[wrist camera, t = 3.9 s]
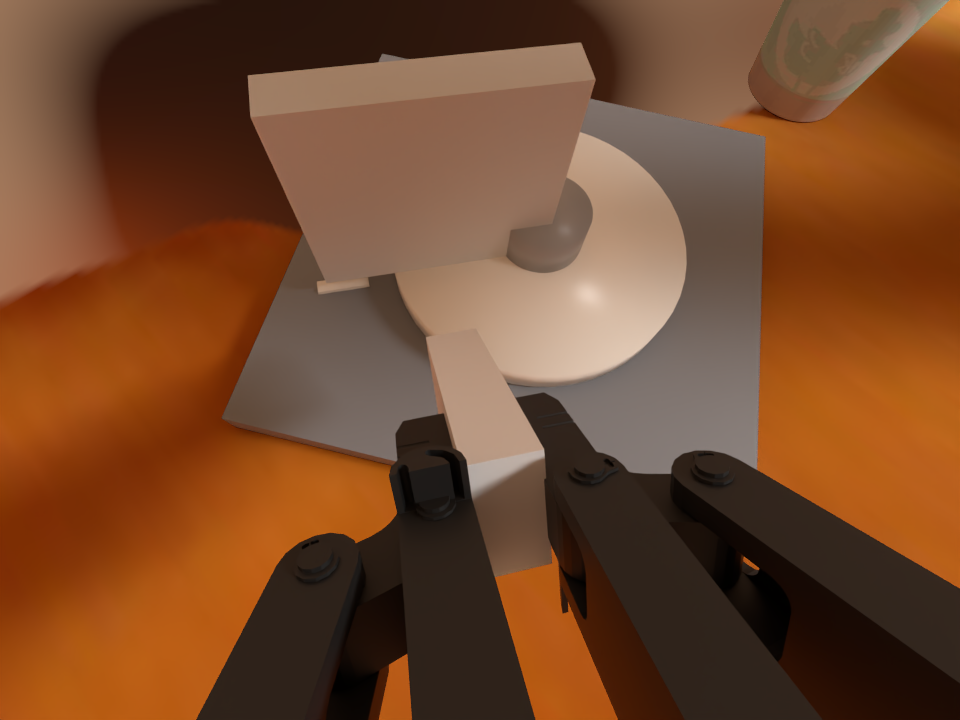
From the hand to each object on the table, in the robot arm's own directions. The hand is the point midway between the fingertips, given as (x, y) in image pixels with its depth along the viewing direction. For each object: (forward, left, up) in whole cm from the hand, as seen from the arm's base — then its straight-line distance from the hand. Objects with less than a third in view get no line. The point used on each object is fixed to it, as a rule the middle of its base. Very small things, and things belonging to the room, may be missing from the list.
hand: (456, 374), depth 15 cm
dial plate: (-2, -10, -9) cm, 13 cm away
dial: (0, -9, -7) cm, 11 cm away
